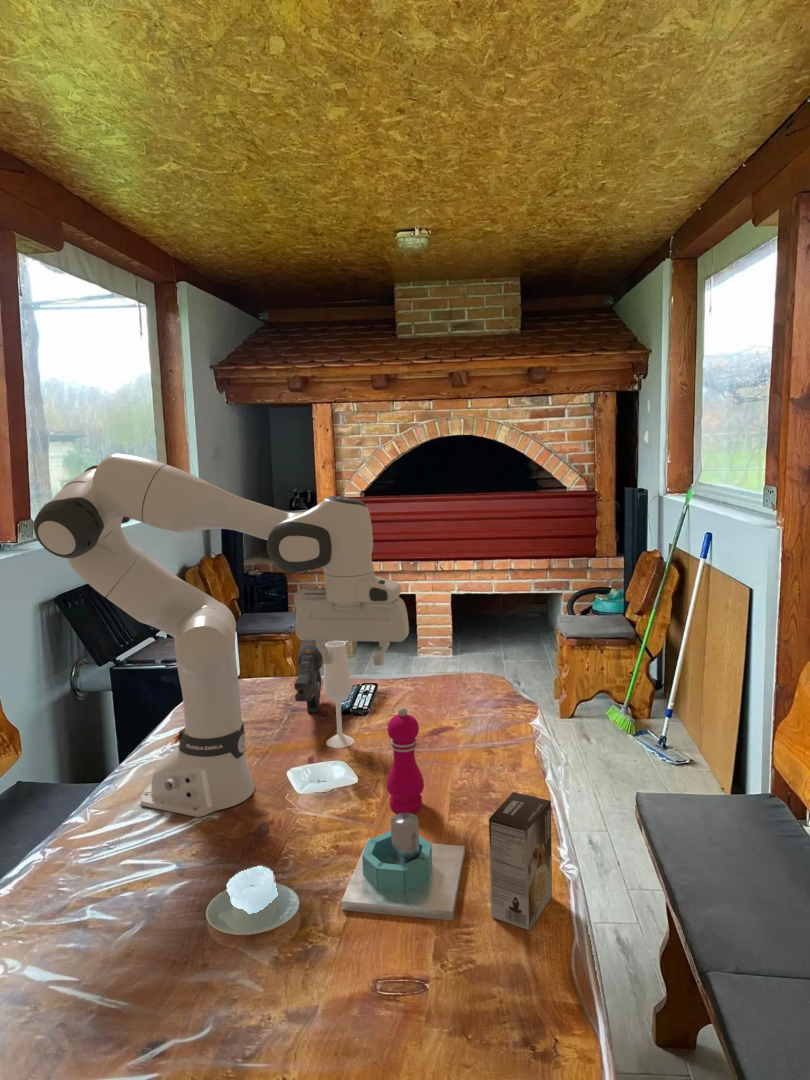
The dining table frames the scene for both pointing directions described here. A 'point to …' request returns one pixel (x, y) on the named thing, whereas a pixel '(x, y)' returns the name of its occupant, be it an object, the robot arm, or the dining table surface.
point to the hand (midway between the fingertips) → (353, 663)
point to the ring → (395, 865)
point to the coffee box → (520, 859)
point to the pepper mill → (404, 765)
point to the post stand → (421, 900)
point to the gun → (309, 675)
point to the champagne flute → (337, 688)
